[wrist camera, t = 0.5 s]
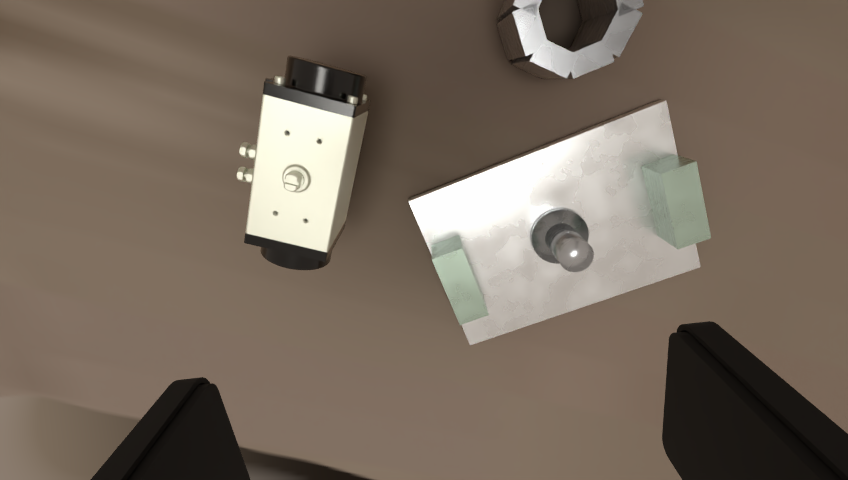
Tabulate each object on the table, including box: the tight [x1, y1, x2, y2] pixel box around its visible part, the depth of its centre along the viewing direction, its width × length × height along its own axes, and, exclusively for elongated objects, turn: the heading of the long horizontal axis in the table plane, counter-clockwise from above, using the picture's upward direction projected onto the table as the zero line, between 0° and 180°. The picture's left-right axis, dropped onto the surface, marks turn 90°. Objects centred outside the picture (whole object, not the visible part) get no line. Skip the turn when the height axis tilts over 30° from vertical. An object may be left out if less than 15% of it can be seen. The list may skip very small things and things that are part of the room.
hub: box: [497, 0, 644, 79], centre depth 28 cm, size 7×7×6 cm
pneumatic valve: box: [237, 56, 370, 270], centre depth 28 cm, size 6×12×12 cm, turn 165°
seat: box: [409, 100, 711, 345], centre depth 33 cm, size 20×14×6 cm
